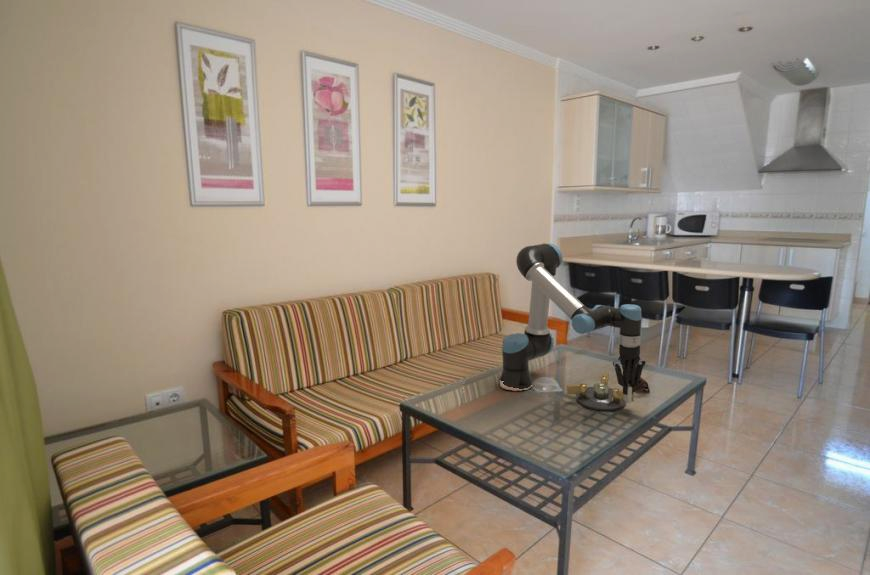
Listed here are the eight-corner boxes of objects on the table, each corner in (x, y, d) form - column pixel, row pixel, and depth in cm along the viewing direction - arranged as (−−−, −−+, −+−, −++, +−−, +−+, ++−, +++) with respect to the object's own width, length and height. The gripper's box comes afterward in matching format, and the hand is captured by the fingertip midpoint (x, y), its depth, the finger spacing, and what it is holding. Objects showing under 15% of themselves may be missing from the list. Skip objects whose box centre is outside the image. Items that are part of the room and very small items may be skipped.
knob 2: (606, 390, 204) (607, 379, 203) (600, 389, 205) (600, 378, 204) (609, 382, 211) (610, 372, 210) (603, 382, 212) (603, 371, 211)
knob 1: (585, 394, 201) (585, 383, 200) (587, 397, 198) (587, 386, 197) (566, 395, 201) (566, 384, 200) (568, 398, 198) (568, 387, 197)
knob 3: (611, 401, 193) (611, 390, 192) (613, 399, 195) (613, 387, 194) (633, 405, 188) (633, 394, 187) (634, 403, 191) (634, 391, 190)
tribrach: (571, 406, 196) (571, 389, 195) (581, 387, 213) (581, 372, 212) (622, 415, 187) (623, 397, 185) (629, 395, 204) (629, 379, 202)
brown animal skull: (655, 397, 202) (648, 383, 199) (633, 405, 204) (626, 392, 201) (644, 379, 213) (638, 366, 210) (624, 387, 215) (617, 374, 212)
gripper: (619, 349, 179) (617, 407, 183) (651, 345, 181) (648, 403, 185) (609, 343, 186) (607, 399, 191) (639, 340, 188) (637, 395, 193)
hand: (627, 401), depth 188 cm, fingers closed
